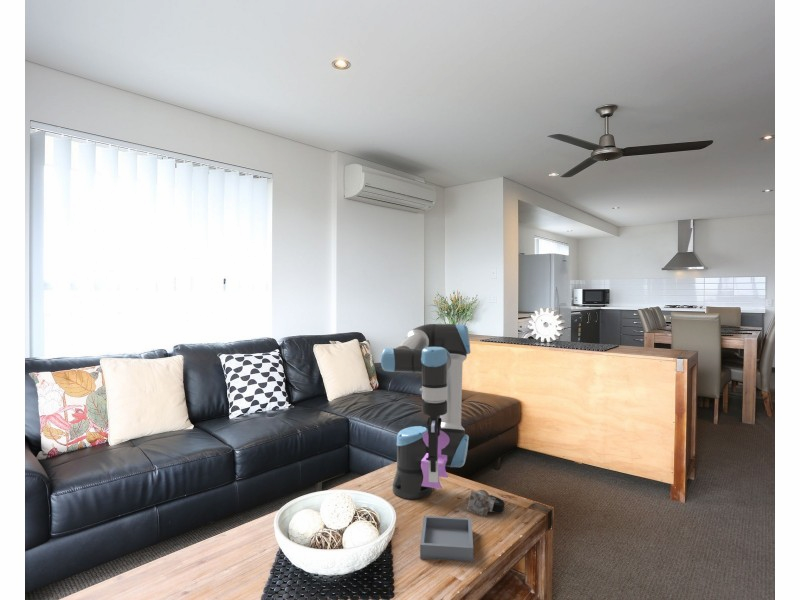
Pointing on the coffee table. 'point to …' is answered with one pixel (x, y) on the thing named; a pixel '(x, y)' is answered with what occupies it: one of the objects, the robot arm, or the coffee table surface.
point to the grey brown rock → (484, 503)
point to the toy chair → (442, 459)
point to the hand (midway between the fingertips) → (434, 474)
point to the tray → (446, 539)
